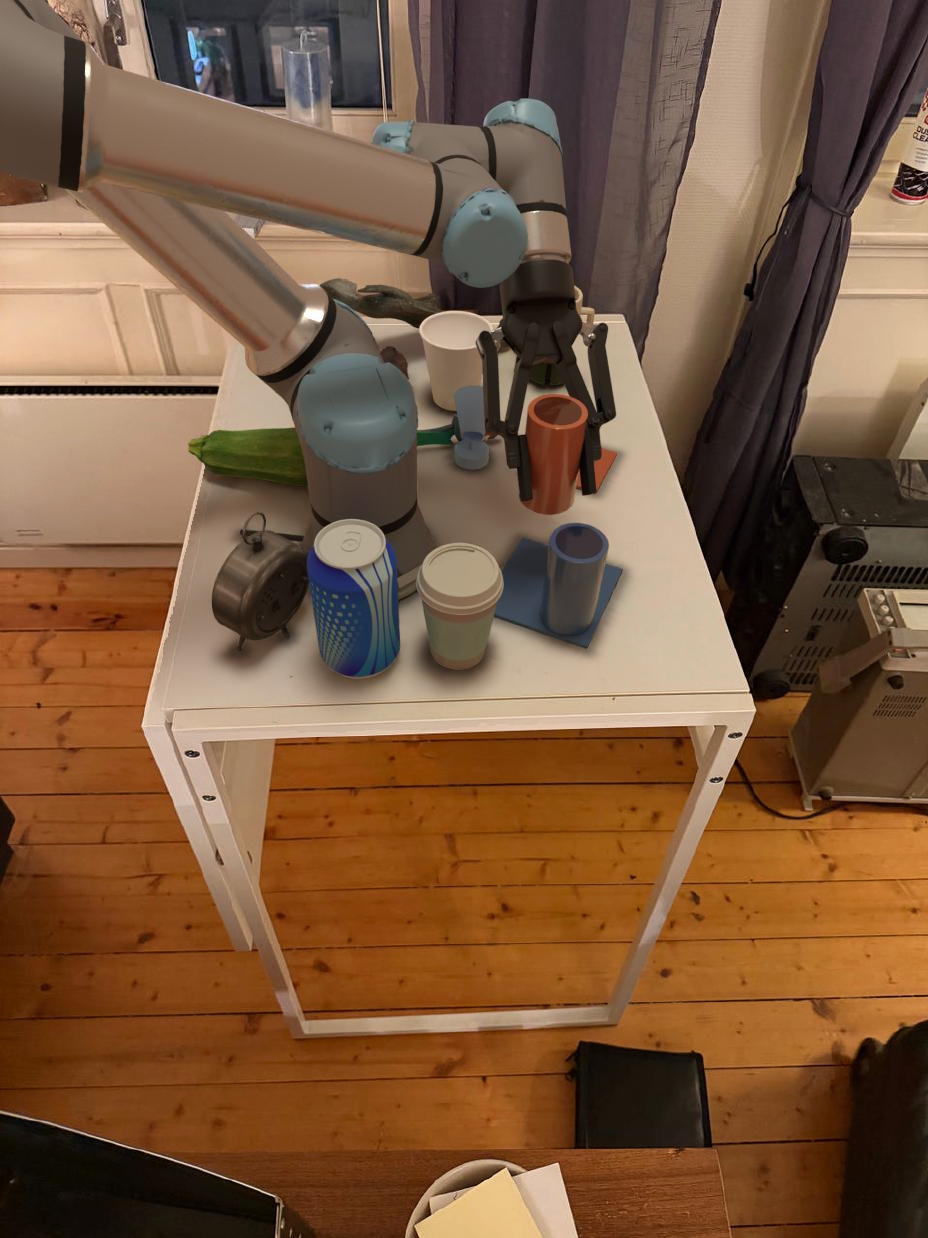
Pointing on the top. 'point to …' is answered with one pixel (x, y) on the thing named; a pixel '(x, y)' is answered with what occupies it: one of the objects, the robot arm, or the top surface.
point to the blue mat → (526, 591)
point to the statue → (385, 302)
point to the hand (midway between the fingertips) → (558, 496)
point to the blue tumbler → (573, 578)
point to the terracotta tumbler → (554, 451)
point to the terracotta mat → (600, 467)
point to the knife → (443, 434)
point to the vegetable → (253, 454)
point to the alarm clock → (260, 585)
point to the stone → (395, 359)
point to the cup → (452, 353)
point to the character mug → (549, 370)
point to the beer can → (355, 598)
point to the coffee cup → (459, 602)
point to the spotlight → (471, 428)
